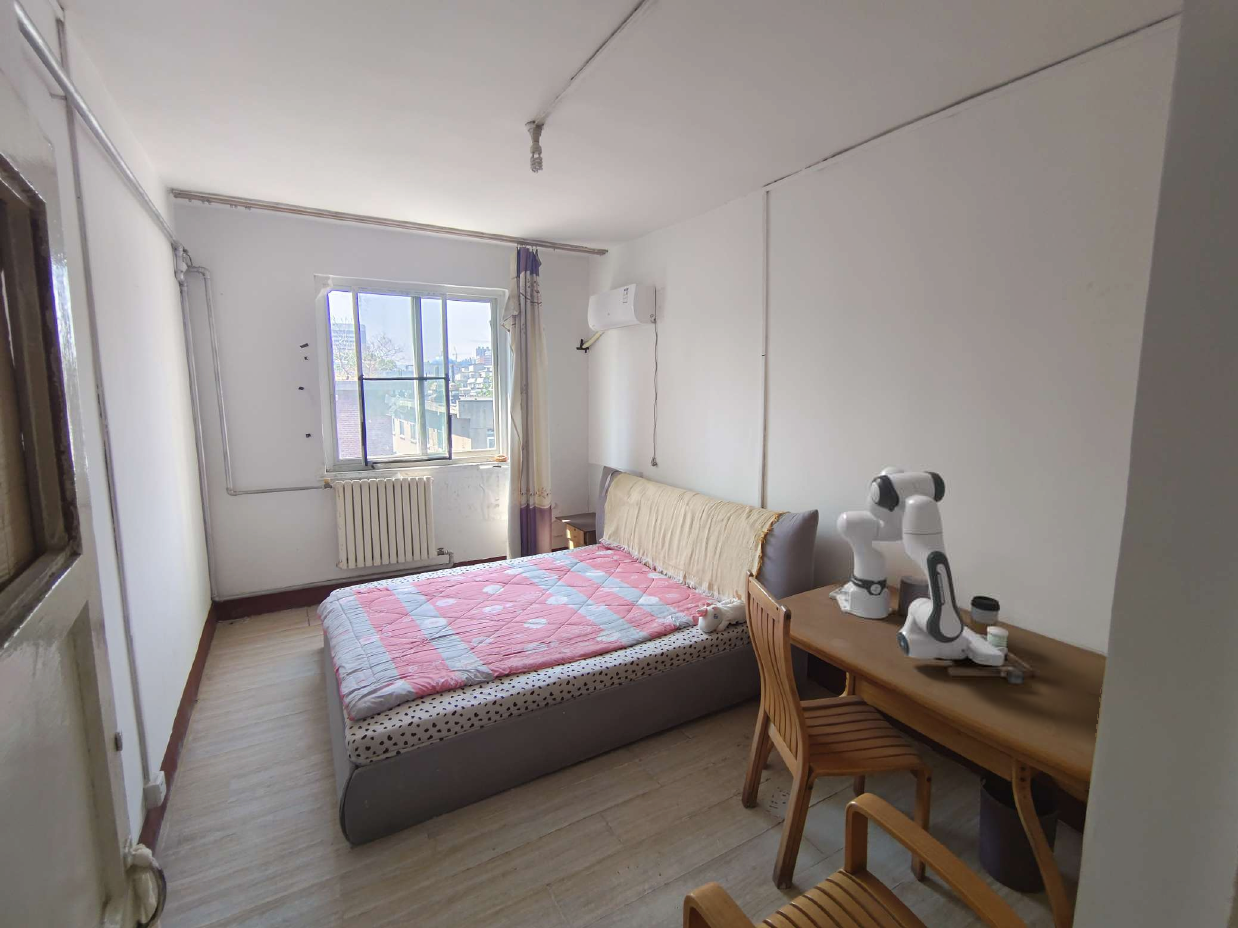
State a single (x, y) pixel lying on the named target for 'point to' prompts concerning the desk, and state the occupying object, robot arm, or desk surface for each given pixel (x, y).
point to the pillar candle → (911, 592)
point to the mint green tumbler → (997, 638)
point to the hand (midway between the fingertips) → (998, 644)
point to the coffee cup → (983, 614)
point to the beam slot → (996, 670)
